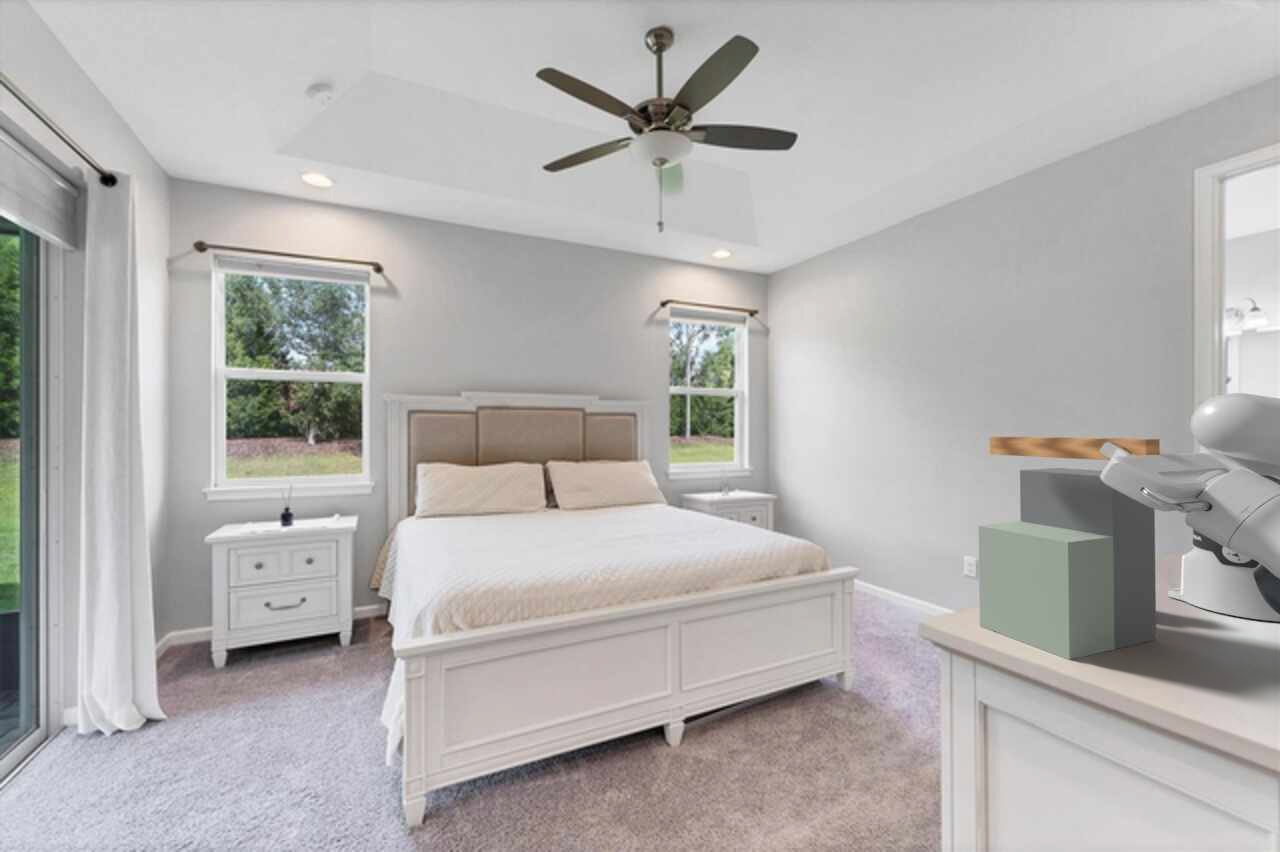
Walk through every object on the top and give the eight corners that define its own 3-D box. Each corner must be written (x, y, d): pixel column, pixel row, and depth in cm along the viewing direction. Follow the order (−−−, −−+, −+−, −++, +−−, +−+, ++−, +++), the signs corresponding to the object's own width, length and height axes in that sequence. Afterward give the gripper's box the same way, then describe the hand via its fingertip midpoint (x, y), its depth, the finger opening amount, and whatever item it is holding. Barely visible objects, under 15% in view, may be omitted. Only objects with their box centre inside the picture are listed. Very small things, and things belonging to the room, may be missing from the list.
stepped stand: (1156, 639, 85) (1154, 474, 85) (1069, 659, 78) (1067, 480, 78) (1060, 611, 98) (1059, 467, 98) (979, 626, 91) (977, 472, 91)
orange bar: (1159, 461, 73) (1159, 439, 73) (1145, 462, 72) (1145, 439, 72) (1002, 453, 94) (1002, 436, 94) (989, 454, 93) (989, 436, 93)
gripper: (1162, 533, 63) (1053, 467, 74) (1260, 520, 70) (1146, 462, 81) (1196, 489, 60) (1078, 427, 71) (1295, 481, 67) (1172, 425, 78)
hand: (1115, 446), depth 76 cm, fingers closed on orange bar, 3 cm apart
